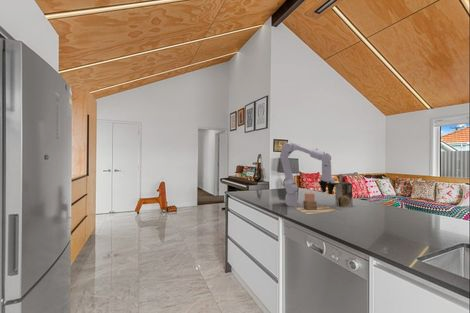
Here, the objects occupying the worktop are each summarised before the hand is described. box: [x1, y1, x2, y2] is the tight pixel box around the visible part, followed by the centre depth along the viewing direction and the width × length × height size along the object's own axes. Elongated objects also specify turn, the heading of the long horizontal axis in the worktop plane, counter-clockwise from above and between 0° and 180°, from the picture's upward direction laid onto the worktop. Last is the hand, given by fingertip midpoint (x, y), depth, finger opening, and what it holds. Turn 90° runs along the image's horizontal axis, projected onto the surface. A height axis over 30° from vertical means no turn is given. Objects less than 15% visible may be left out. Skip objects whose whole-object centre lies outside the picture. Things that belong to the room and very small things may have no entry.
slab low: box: [303, 204, 318, 210], centre depth 156 cm, size 6×6×2 cm
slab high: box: [302, 199, 317, 206], centre depth 156 cm, size 6×6×2 cm
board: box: [293, 205, 340, 215], centre depth 155 cm, size 18×22×1 cm
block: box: [304, 192, 316, 202], centre depth 156 cm, size 4×4×5 cm
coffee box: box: [334, 182, 353, 208], centre depth 162 cm, size 9×6×16 cm
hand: (327, 193), depth 158 cm, fingers open, 7 cm apart
